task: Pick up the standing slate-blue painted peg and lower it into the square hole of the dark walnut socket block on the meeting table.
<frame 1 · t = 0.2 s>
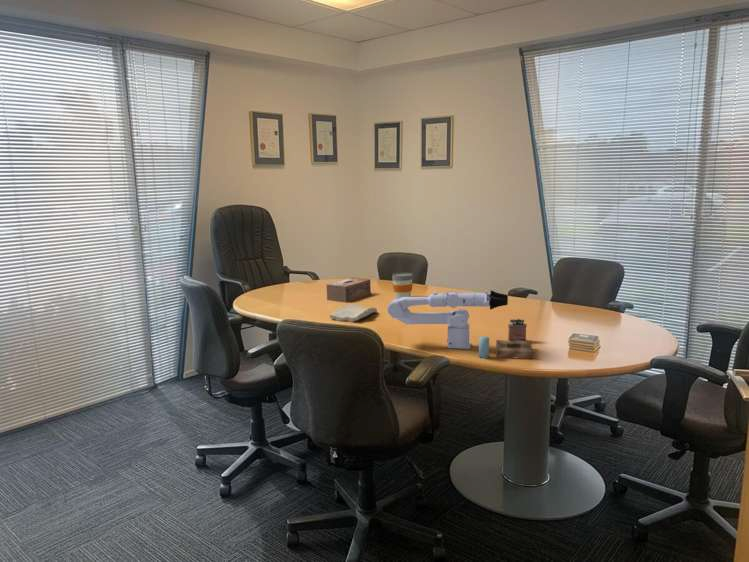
hand: (507, 299, 225), 21 cm above the table, tool horizontal, fingers open, 7 cm apart
tissue box cover: (349, 297, 337), on the table
socket block: (513, 352, 223), on the table
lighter: (517, 341, 239), on the table
reusable coffee cup: (402, 298, 329), on the table
folded grey cloth: (356, 317, 289), on the table
peg: (483, 357, 219), on the table
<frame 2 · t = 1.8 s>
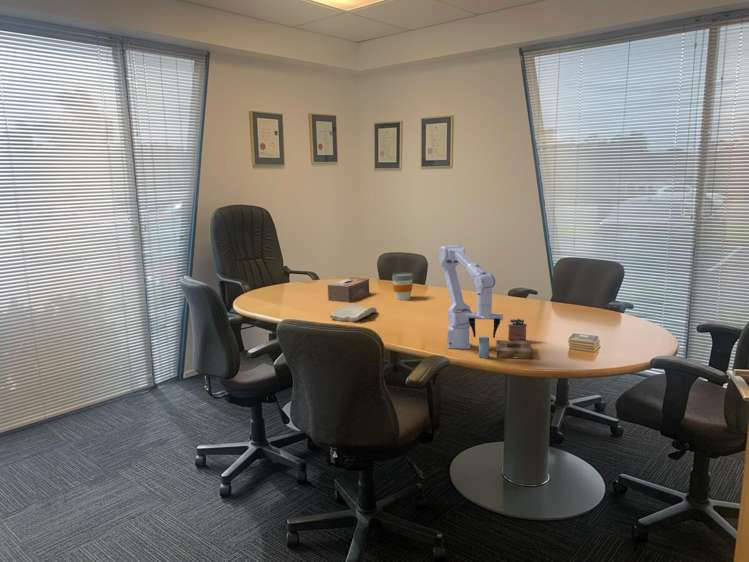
hand: (484, 336, 217), 9 cm above the table, tool pointing down, fingers open, 7 cm apart
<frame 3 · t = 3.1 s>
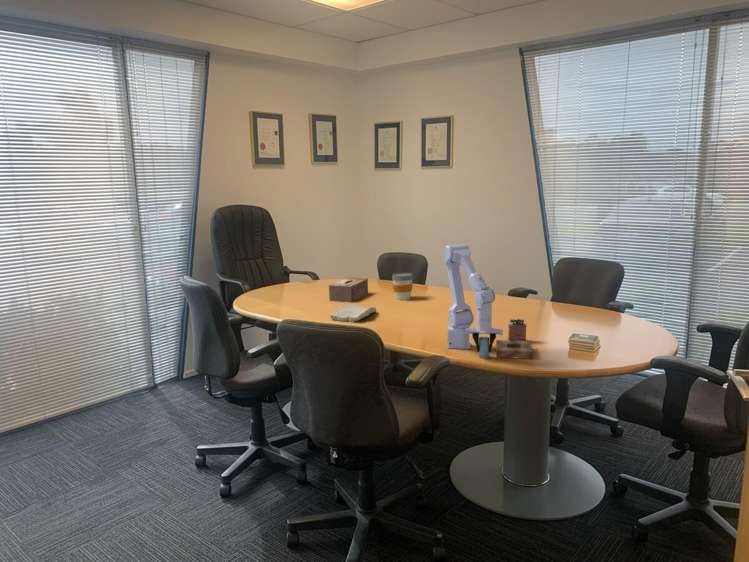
hand: (484, 351, 219), 2 cm above the table, tool pointing down, fingers closed on peg, 4 cm apart
peg: (483, 356, 219), on the table, touching gripper
when the fingers open (4 cm above the table, at t = 6.7 s): peg drops 1 cm, resting in socket block.
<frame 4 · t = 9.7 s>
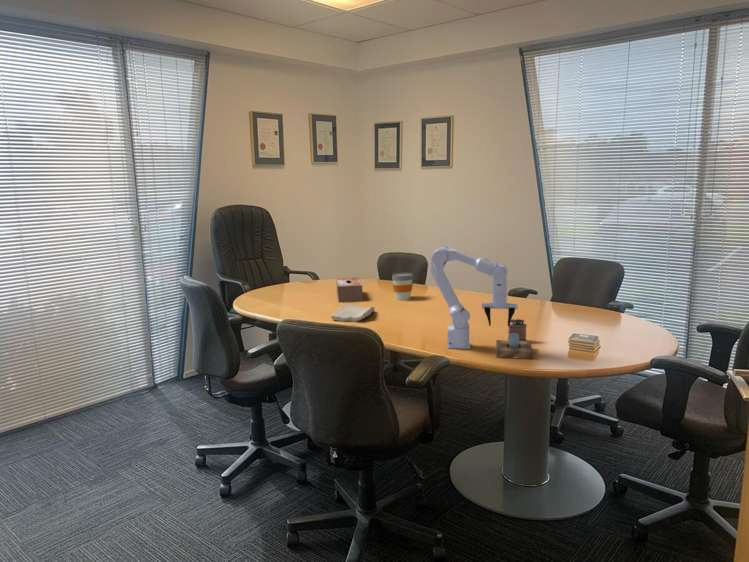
hand: (499, 325, 226), 10 cm above the table, tool pointing down, fingers open, 7 cm apart
peg: (513, 353, 223), resting in socket block
at the end: peg 0.4 cm off-centre on the socket block, point 0.0 cm above the socket block's base; peg tilted 1°; the gripper is holding nothing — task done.
